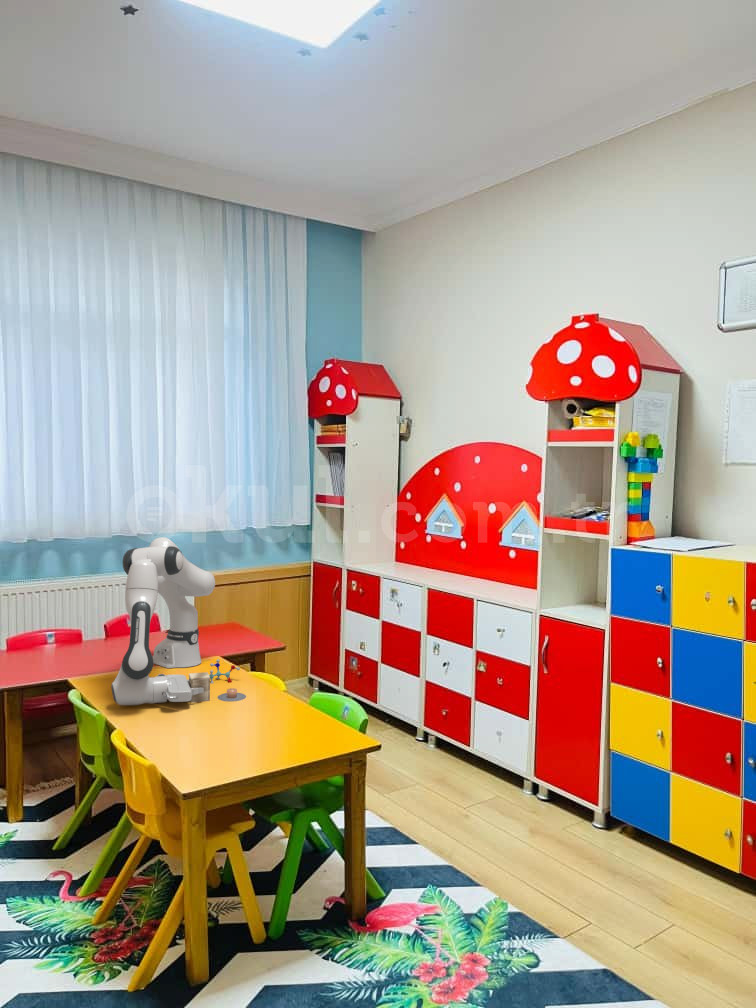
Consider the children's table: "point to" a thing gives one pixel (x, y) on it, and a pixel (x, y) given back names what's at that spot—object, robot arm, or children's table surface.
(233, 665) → the molecular model
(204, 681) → the beige upright block
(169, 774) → the children's table surface
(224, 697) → the coaster
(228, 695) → the pinkish-brown rounded lump
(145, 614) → the robot arm
